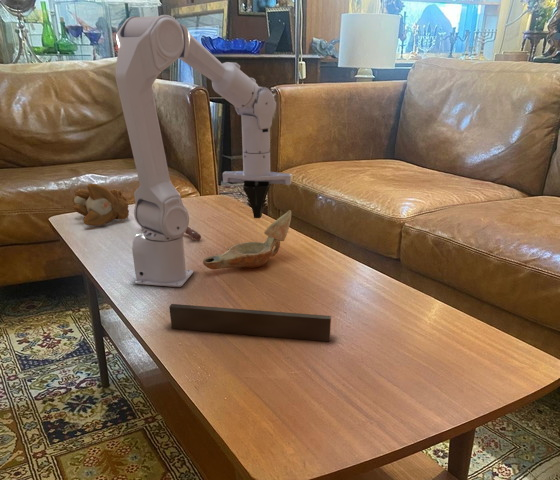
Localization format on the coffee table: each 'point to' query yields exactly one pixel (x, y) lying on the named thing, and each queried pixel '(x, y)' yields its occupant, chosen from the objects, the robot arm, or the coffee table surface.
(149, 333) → the coffee table surface
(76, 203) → the stuffed squirrel
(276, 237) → the oil lamp
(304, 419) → the coffee table surface
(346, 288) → the coffee table surface
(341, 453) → the coffee table surface
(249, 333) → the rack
